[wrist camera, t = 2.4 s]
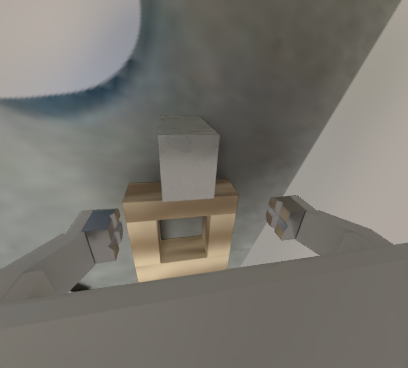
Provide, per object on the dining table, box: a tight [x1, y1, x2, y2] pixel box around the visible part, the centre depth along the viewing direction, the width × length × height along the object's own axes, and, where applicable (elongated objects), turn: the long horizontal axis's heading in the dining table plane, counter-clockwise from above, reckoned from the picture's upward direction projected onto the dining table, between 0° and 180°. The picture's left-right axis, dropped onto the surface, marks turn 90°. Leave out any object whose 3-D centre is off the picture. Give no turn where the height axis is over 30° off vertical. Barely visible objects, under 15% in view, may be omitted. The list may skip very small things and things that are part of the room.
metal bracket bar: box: [158, 115, 220, 202], centre depth 16 cm, size 5×4×8 cm
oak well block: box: [122, 179, 239, 282], centre depth 25 cm, size 18×12×4 cm, turn 177°
